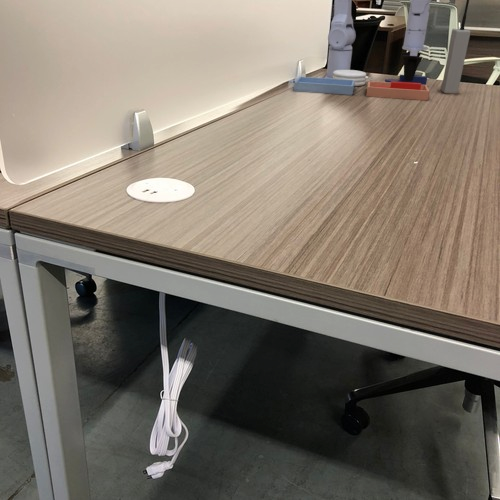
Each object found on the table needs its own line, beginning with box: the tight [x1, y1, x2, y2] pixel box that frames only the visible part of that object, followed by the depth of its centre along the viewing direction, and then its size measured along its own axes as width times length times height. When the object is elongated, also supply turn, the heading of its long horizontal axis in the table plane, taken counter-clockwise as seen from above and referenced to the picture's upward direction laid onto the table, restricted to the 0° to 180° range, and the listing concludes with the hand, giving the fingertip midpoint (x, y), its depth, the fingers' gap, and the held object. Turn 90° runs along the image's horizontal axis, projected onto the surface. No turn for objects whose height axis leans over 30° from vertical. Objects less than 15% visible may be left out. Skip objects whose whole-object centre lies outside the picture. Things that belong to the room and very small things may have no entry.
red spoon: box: [375, 81, 421, 90], centre depth 140 cm, size 12×4×3 cm, turn 77°
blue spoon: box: [384, 74, 428, 85], centre depth 154 cm, size 12×4×3 cm, turn 77°
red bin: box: [366, 80, 430, 101], centre depth 140 cm, size 10×16×2 cm, turn 77°
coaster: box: [333, 69, 367, 87], centre depth 154 cm, size 10×10×4 cm
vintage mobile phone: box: [439, 0, 471, 95], centre depth 141 cm, size 4×5×25 cm
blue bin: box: [293, 76, 355, 96], centre depth 144 cm, size 10×16×2 cm, turn 77°
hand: (408, 78), depth 154 cm, fingers open, 7 cm apart
